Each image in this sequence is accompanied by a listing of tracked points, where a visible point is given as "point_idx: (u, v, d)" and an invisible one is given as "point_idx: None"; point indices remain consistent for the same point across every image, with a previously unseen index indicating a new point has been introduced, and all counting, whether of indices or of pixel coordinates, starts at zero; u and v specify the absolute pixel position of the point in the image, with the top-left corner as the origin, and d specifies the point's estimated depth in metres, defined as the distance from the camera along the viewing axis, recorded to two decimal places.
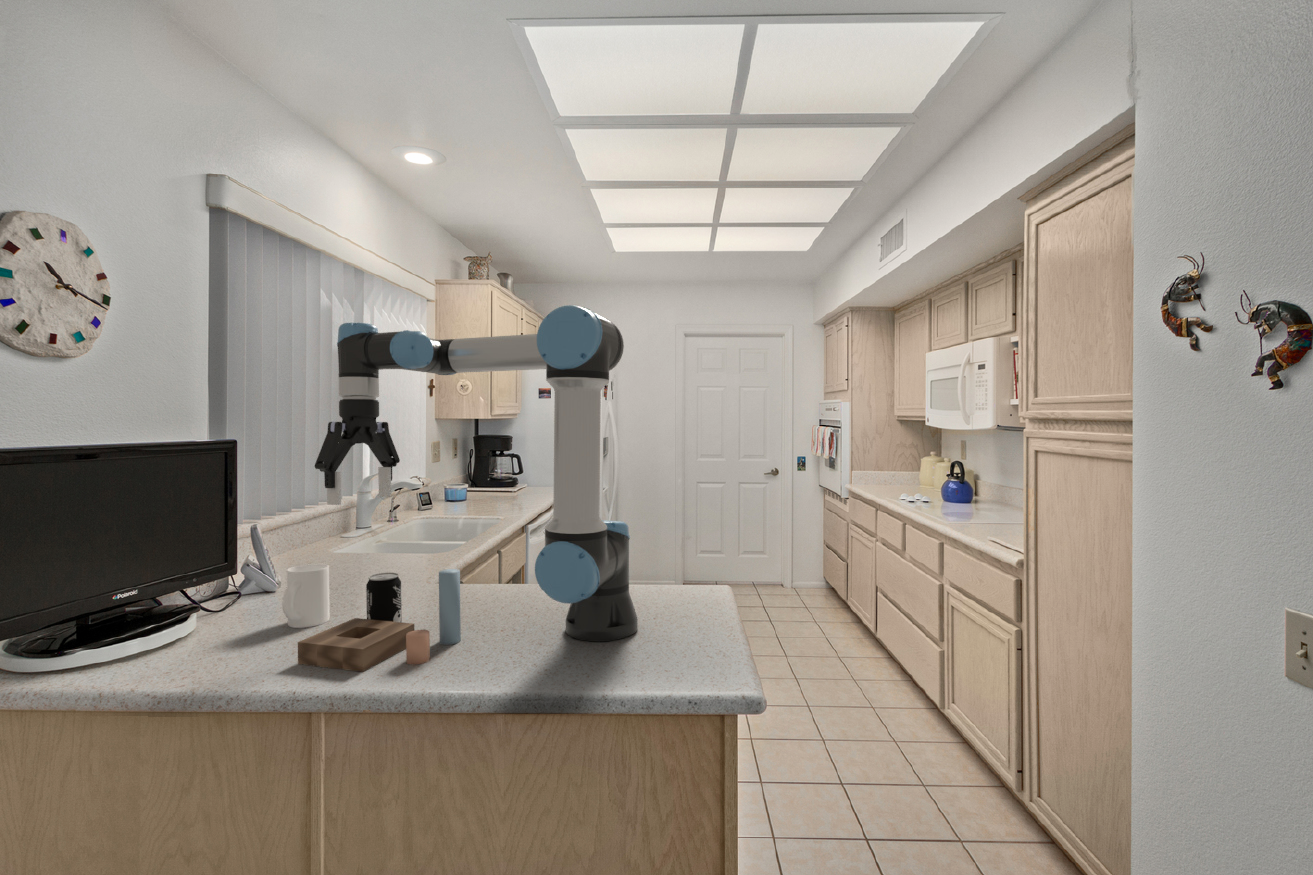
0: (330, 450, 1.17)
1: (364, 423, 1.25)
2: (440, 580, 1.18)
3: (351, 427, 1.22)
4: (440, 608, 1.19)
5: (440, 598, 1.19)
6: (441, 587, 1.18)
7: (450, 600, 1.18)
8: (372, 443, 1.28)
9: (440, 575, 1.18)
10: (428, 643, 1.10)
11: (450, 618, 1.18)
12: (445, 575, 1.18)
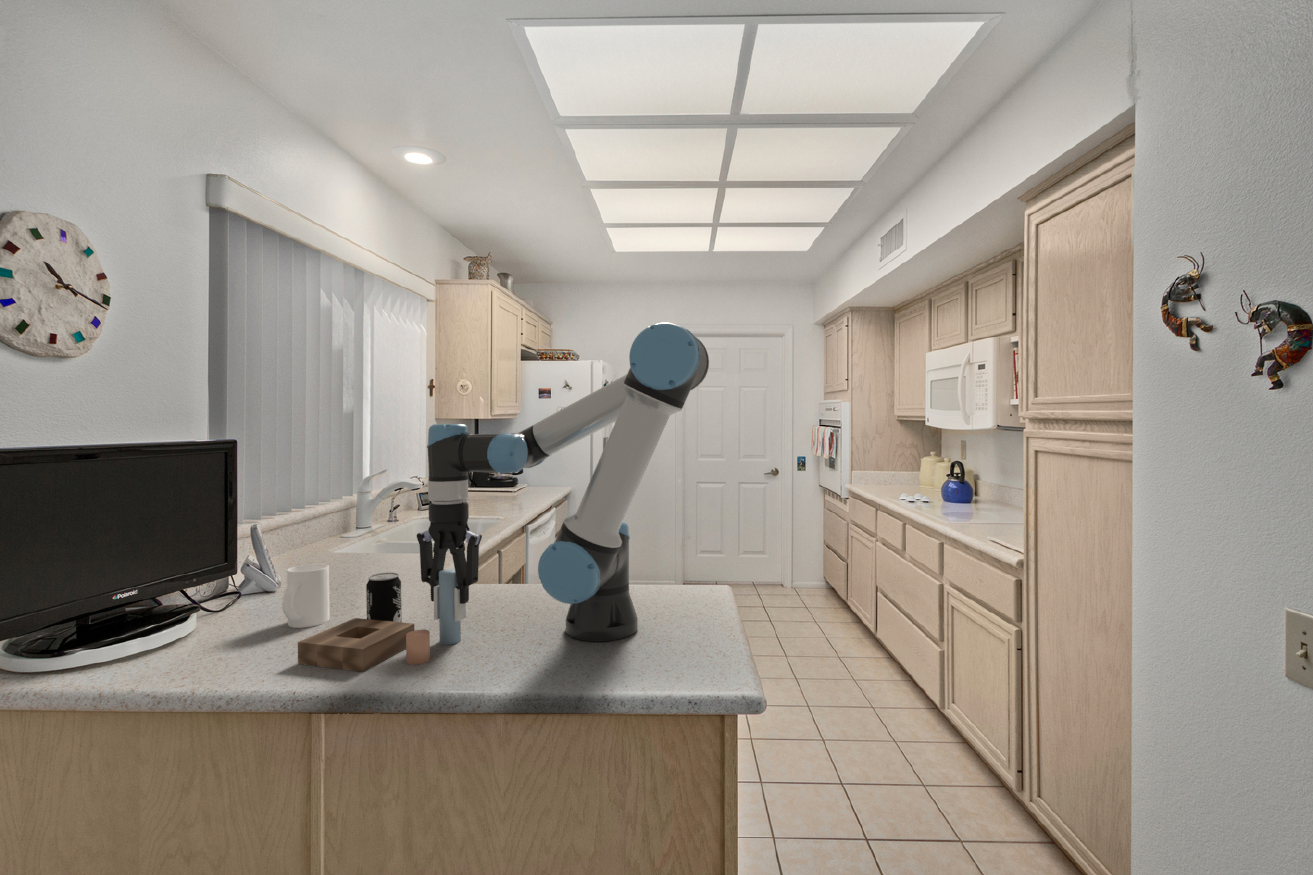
0: (420, 563, 1.20)
1: (446, 528, 1.19)
2: (440, 580, 1.18)
3: (431, 532, 1.20)
4: (440, 608, 1.19)
5: (440, 598, 1.19)
6: (441, 587, 1.18)
7: (450, 600, 1.18)
8: None
9: (440, 575, 1.18)
10: (428, 643, 1.10)
11: (450, 618, 1.18)
12: (445, 575, 1.18)
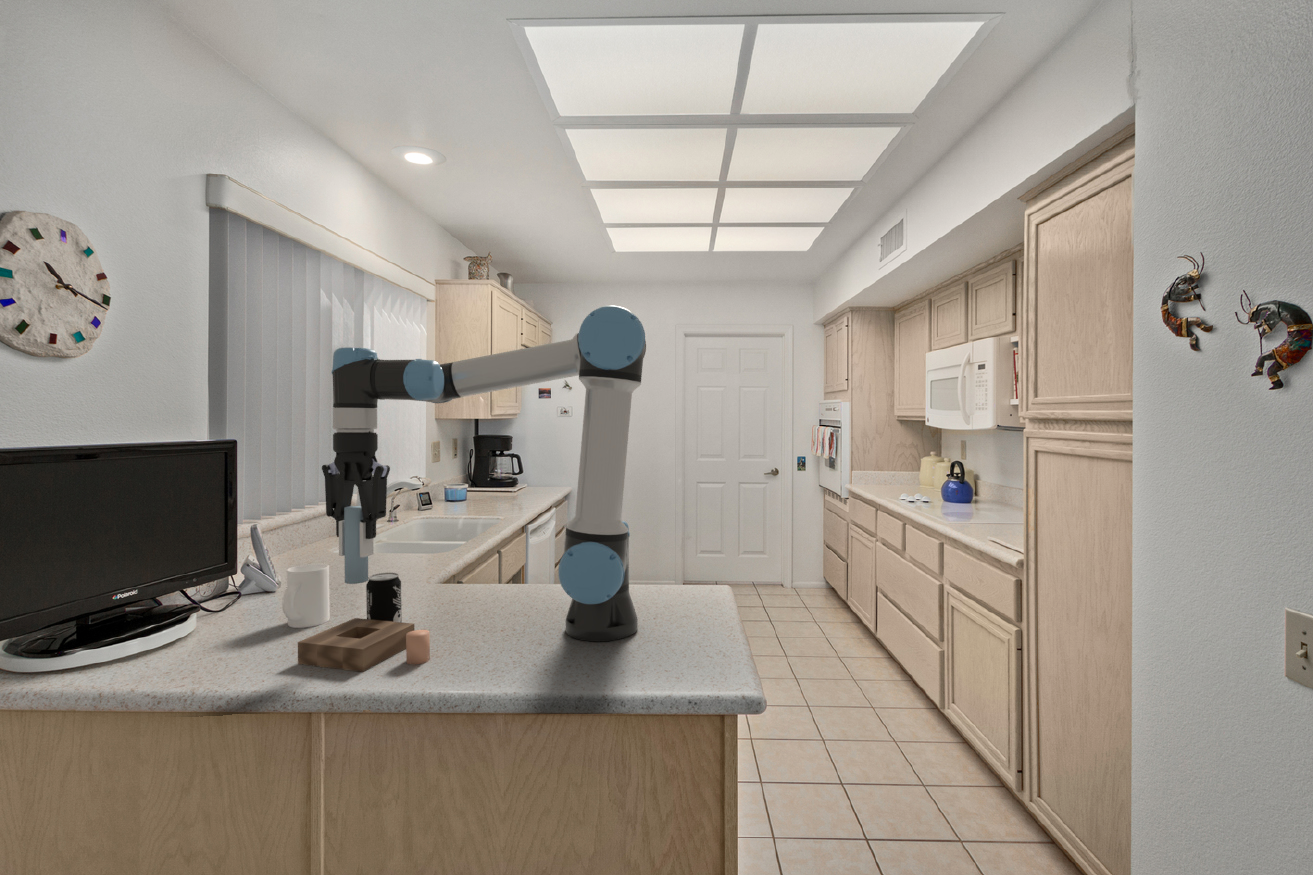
0: None
1: (352, 458, 1.12)
2: (345, 515, 1.12)
3: (337, 463, 1.13)
4: (345, 545, 1.12)
5: (345, 534, 1.12)
6: (346, 523, 1.12)
7: (355, 537, 1.12)
8: None
9: (345, 510, 1.12)
10: (428, 643, 1.10)
11: (355, 556, 1.12)
12: (350, 510, 1.11)
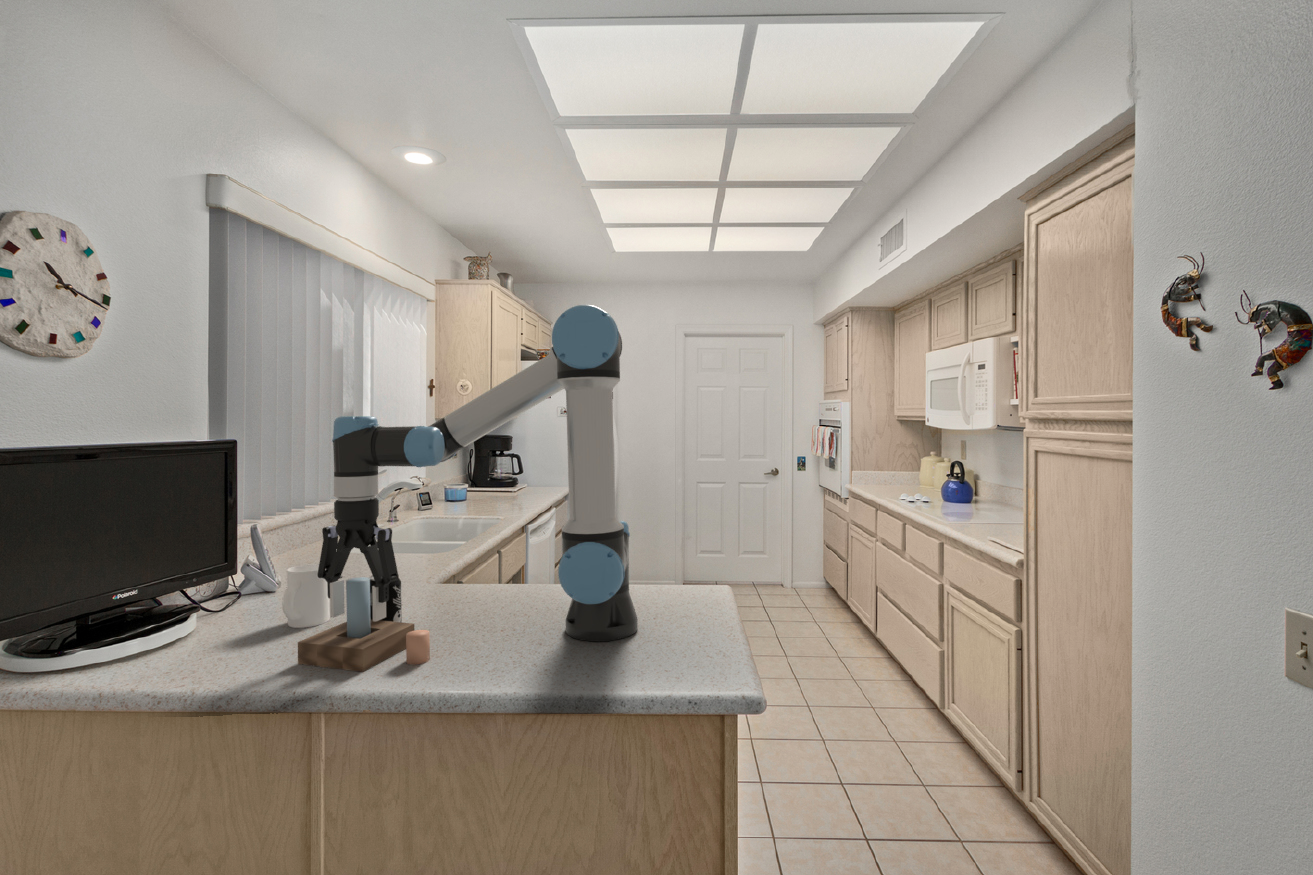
0: (320, 558, 1.14)
1: (353, 526, 1.12)
2: (347, 589, 1.12)
3: (338, 530, 1.13)
4: (347, 619, 1.12)
5: (347, 608, 1.12)
6: (348, 596, 1.12)
7: (357, 610, 1.12)
8: None
9: (347, 584, 1.12)
10: (428, 643, 1.10)
11: (357, 629, 1.12)
12: (352, 584, 1.12)
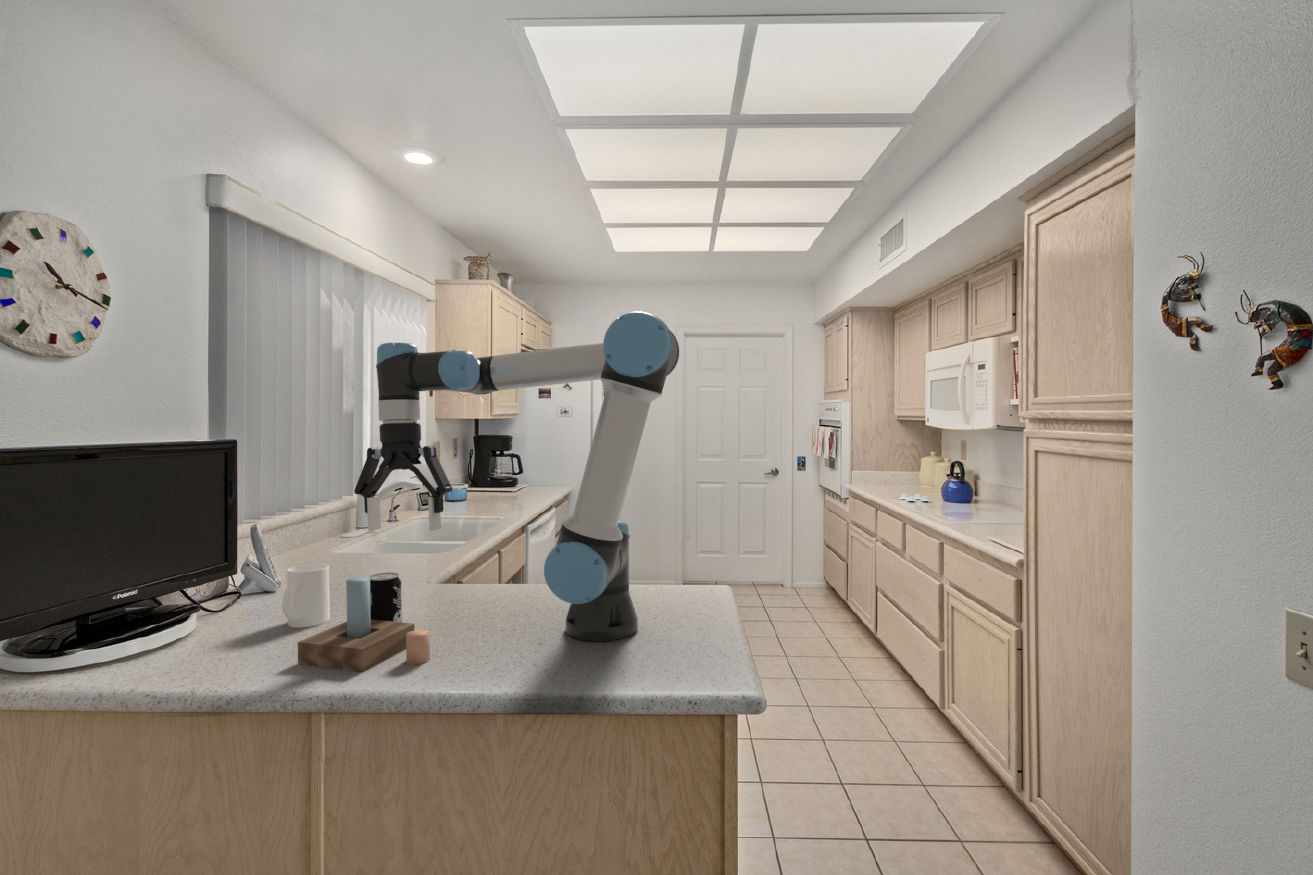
0: (360, 475, 1.20)
1: (398, 448, 1.18)
2: (347, 589, 1.12)
3: (383, 453, 1.19)
4: (347, 619, 1.12)
5: (347, 608, 1.12)
6: (348, 596, 1.12)
7: (357, 610, 1.12)
8: None
9: (347, 584, 1.12)
10: (428, 643, 1.10)
11: (358, 629, 1.12)
12: (352, 584, 1.12)
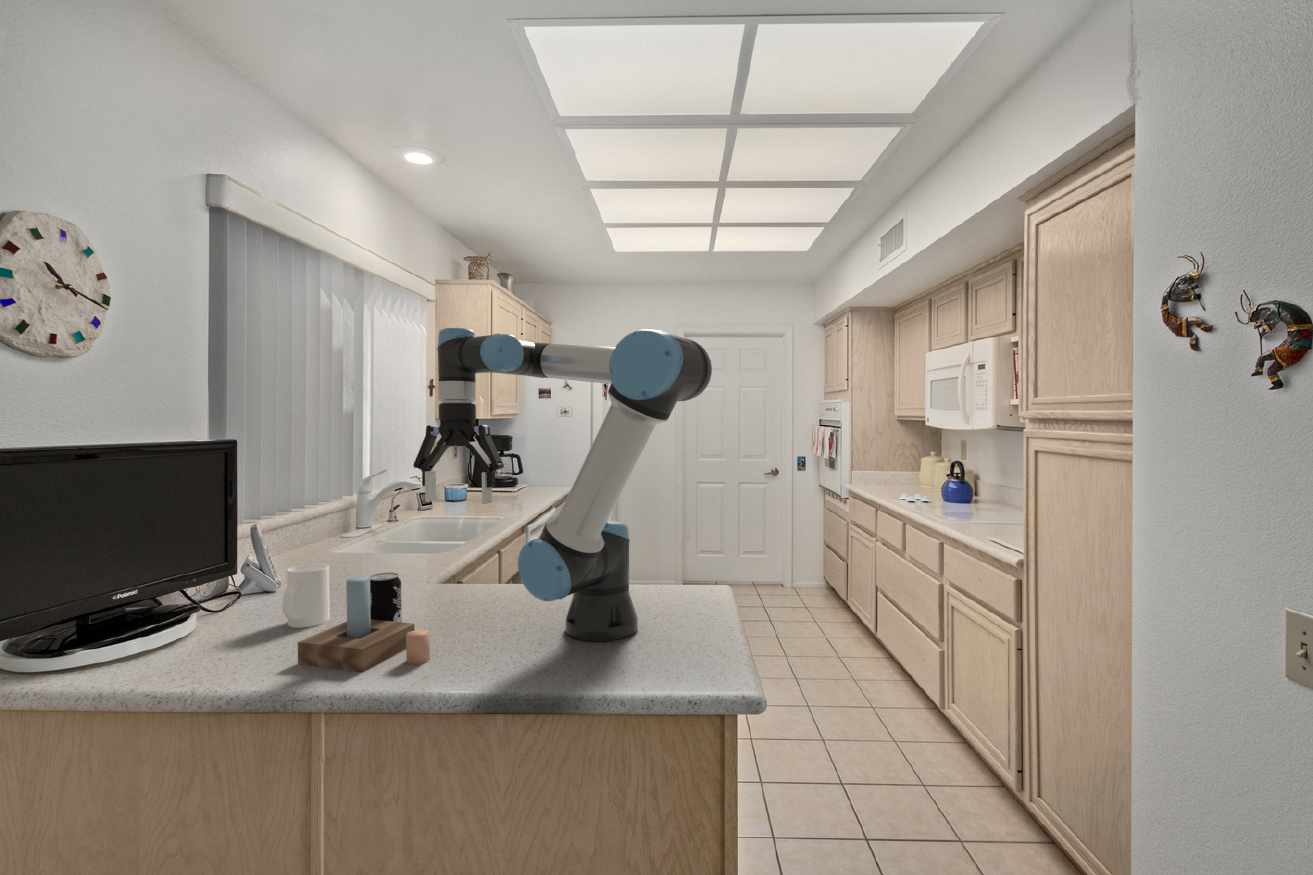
0: (419, 451, 1.29)
1: (455, 426, 1.27)
2: (347, 589, 1.12)
3: (441, 430, 1.28)
4: (347, 619, 1.12)
5: (347, 608, 1.12)
6: (348, 596, 1.12)
7: (357, 610, 1.12)
8: None
9: (347, 584, 1.12)
10: (428, 643, 1.10)
11: (358, 629, 1.12)
12: (352, 584, 1.12)
